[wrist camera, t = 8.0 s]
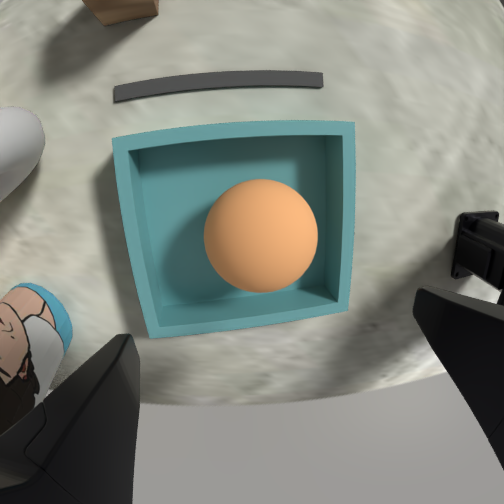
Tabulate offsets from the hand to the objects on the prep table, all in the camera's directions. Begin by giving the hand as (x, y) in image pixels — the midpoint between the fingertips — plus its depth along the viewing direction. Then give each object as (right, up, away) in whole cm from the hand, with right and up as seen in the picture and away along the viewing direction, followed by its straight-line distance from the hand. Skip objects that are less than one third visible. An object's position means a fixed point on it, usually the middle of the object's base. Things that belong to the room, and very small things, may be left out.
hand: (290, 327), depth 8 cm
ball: (-1, +3, +8) cm, 8 cm away
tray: (-2, +4, +11) cm, 12 cm away
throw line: (-3, +13, +8) cm, 15 cm away
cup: (-18, -3, +11) cm, 22 cm away
